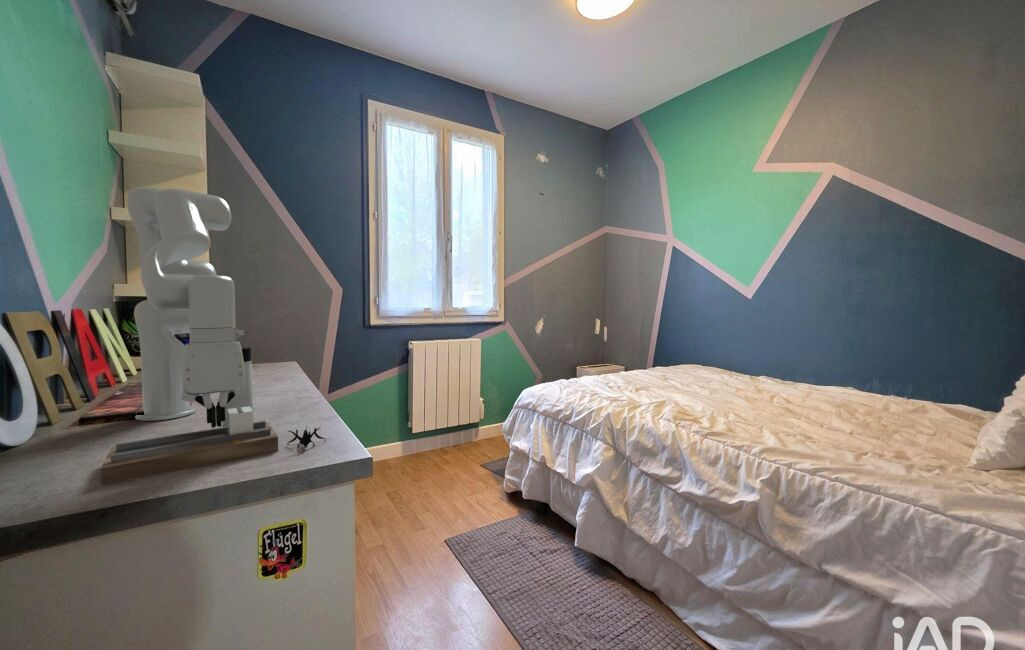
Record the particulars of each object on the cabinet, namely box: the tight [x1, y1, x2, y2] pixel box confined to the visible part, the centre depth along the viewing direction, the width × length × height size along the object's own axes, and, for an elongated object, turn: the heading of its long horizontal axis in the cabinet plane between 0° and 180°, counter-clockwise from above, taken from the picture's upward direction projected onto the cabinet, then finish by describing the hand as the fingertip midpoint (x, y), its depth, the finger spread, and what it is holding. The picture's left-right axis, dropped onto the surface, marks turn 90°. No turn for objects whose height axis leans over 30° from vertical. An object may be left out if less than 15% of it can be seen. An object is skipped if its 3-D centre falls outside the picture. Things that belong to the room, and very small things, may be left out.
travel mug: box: [221, 347, 254, 428], centre depth 97 cm, size 6×7×20 cm
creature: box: [286, 424, 327, 449], centre depth 87 cm, size 8×5×8 cm
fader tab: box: [227, 406, 254, 435], centre depth 84 cm, size 5×4×5 cm
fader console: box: [100, 420, 279, 486], centre depth 80 cm, size 12×26×4 cm, turn 129°
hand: (216, 425), depth 81 cm, fingers closed
